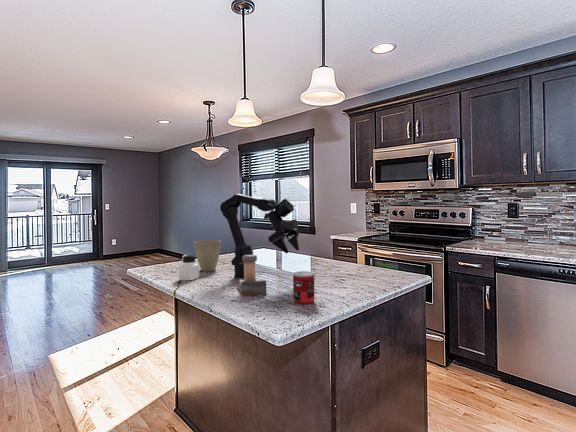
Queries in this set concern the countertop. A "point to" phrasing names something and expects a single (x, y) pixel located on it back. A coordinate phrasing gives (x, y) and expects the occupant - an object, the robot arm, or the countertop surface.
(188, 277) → the medicine bottle
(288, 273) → the countertop surface
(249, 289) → the mount
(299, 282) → the canned food
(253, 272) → the orange jar
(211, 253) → the plant pot
